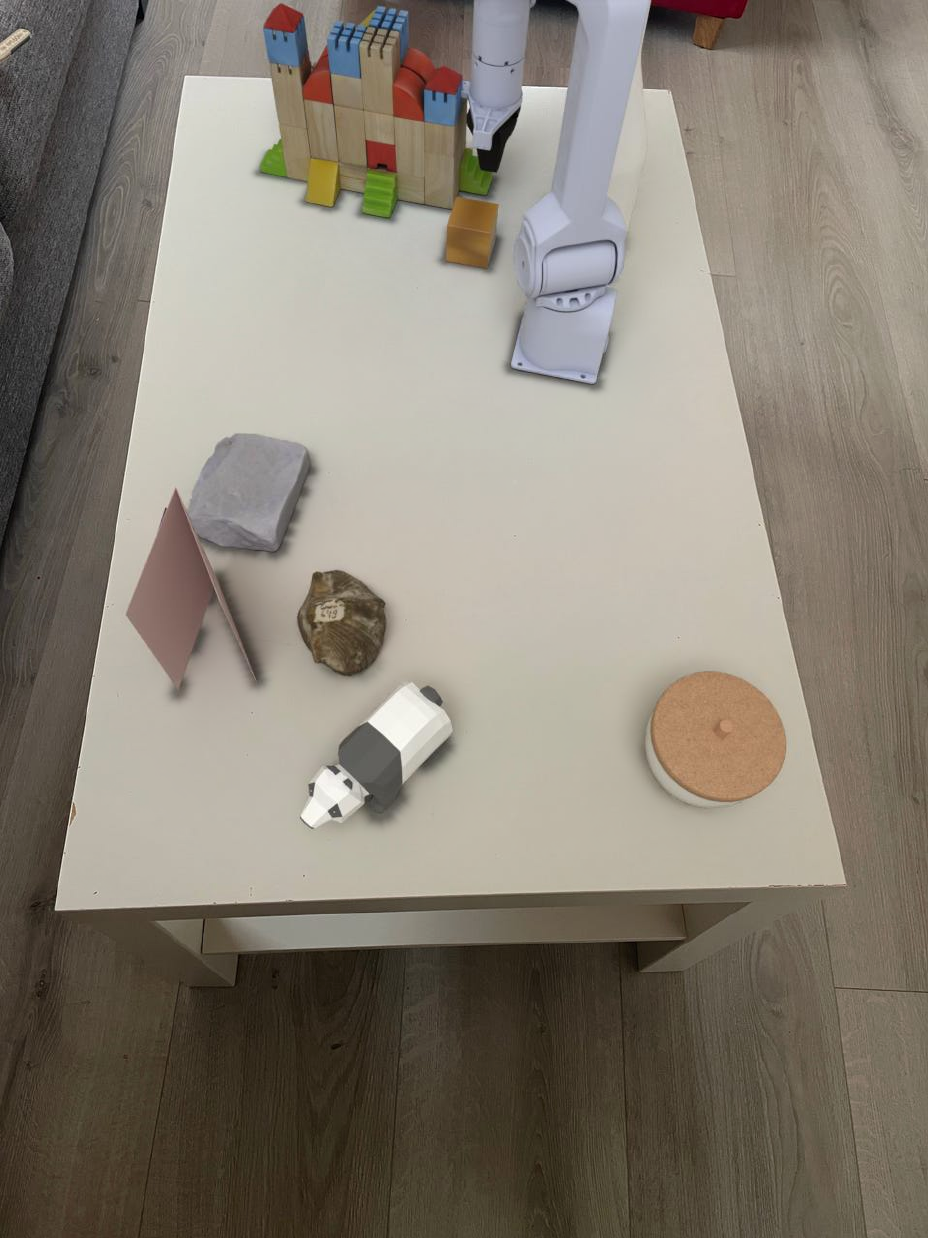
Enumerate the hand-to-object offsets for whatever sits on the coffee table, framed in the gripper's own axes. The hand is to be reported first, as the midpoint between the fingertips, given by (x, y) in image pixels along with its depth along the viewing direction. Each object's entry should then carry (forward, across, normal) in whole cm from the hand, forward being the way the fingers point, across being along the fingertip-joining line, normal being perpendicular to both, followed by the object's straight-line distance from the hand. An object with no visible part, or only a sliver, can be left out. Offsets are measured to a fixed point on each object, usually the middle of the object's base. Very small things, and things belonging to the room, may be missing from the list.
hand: (489, 167), depth 103 cm
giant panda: (+4, +74, +6) cm, 74 cm away
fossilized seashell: (+4, +62, -1) cm, 62 cm away
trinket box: (+4, +67, +32) cm, 74 cm away
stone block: (+4, +50, -14) cm, 52 cm away
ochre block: (+4, +10, 0) cm, 11 cm away
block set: (+4, 0, -14) cm, 15 cm away
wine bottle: (+4, +4, +13) cm, 14 cm away
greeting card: (+4, +65, -11) cm, 66 cm away
